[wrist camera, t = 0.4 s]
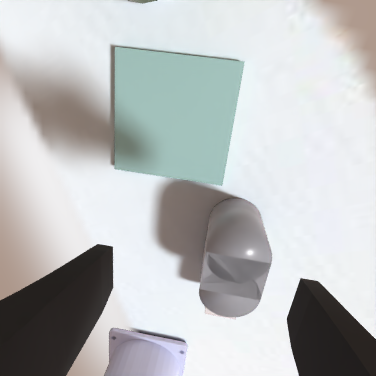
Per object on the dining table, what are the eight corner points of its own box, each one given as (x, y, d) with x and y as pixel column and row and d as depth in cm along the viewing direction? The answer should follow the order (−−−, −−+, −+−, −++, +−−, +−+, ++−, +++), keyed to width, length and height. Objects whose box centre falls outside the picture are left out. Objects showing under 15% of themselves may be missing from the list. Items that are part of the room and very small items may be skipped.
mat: (222, 183, 18) (222, 185, 18) (117, 167, 19) (114, 169, 19) (243, 62, 15) (244, 61, 15) (117, 47, 16) (114, 46, 16)
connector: (243, 293, 22) (247, 341, 18) (198, 285, 22) (192, 330, 18) (266, 202, 19) (279, 235, 14) (213, 194, 19) (210, 224, 15)
